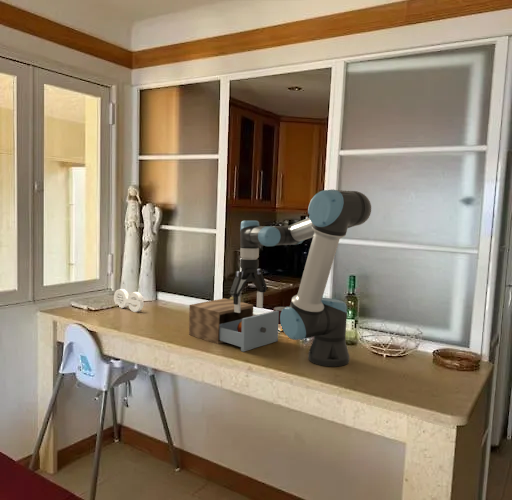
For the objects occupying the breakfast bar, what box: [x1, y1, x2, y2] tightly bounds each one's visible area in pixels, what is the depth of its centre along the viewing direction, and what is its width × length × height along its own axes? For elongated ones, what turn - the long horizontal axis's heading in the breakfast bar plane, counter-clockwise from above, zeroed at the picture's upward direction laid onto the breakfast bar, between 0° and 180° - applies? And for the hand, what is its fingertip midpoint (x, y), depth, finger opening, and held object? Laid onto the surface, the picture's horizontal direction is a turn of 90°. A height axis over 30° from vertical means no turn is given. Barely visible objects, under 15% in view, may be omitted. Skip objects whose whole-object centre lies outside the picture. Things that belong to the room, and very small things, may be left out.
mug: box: [272, 306, 287, 324], centre depth 217 cm, size 11×8×10 cm
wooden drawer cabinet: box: [188, 297, 254, 345], centre depth 208 cm, size 18×21×13 cm
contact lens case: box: [113, 288, 145, 313], centre depth 250 cm, size 22×2×10 cm, turn 52°
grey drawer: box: [219, 310, 279, 353], centre depth 198 cm, size 20×21×13 cm
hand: (248, 309), depth 197 cm, fingers open, 13 cm apart
